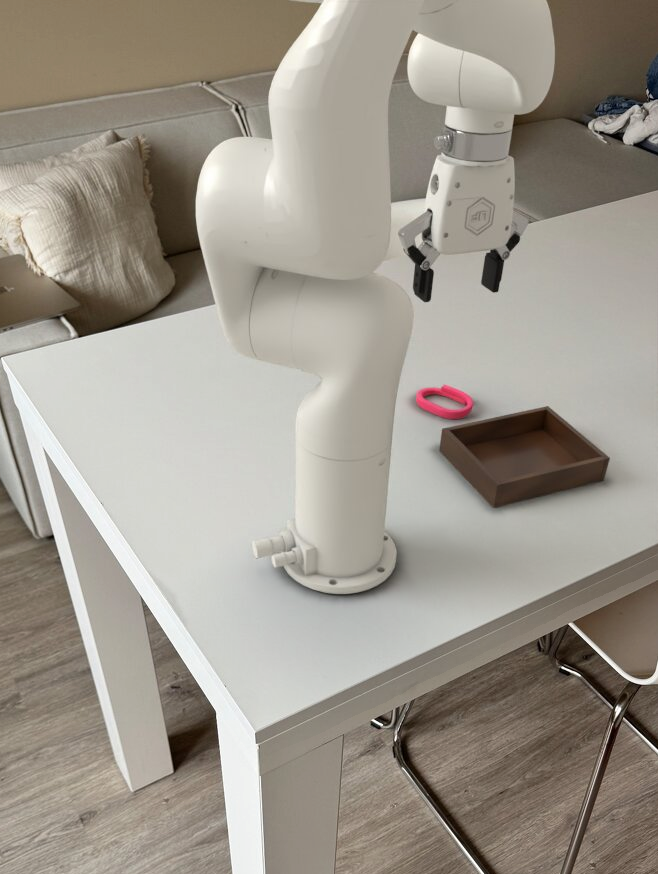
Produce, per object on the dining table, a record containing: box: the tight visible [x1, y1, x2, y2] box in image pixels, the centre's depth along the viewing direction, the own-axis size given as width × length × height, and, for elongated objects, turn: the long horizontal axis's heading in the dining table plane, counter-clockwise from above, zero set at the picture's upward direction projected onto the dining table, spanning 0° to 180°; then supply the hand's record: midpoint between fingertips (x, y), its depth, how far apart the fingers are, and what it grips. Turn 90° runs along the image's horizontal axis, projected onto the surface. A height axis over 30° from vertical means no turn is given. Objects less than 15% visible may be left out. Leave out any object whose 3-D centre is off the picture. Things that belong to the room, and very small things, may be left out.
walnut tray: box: [438, 405, 611, 509], centre depth 111 cm, size 16×13×3 cm
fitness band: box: [415, 384, 474, 420], centre depth 122 cm, size 8×6×2 cm
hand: (456, 293), depth 111 cm, fingers open, 9 cm apart
